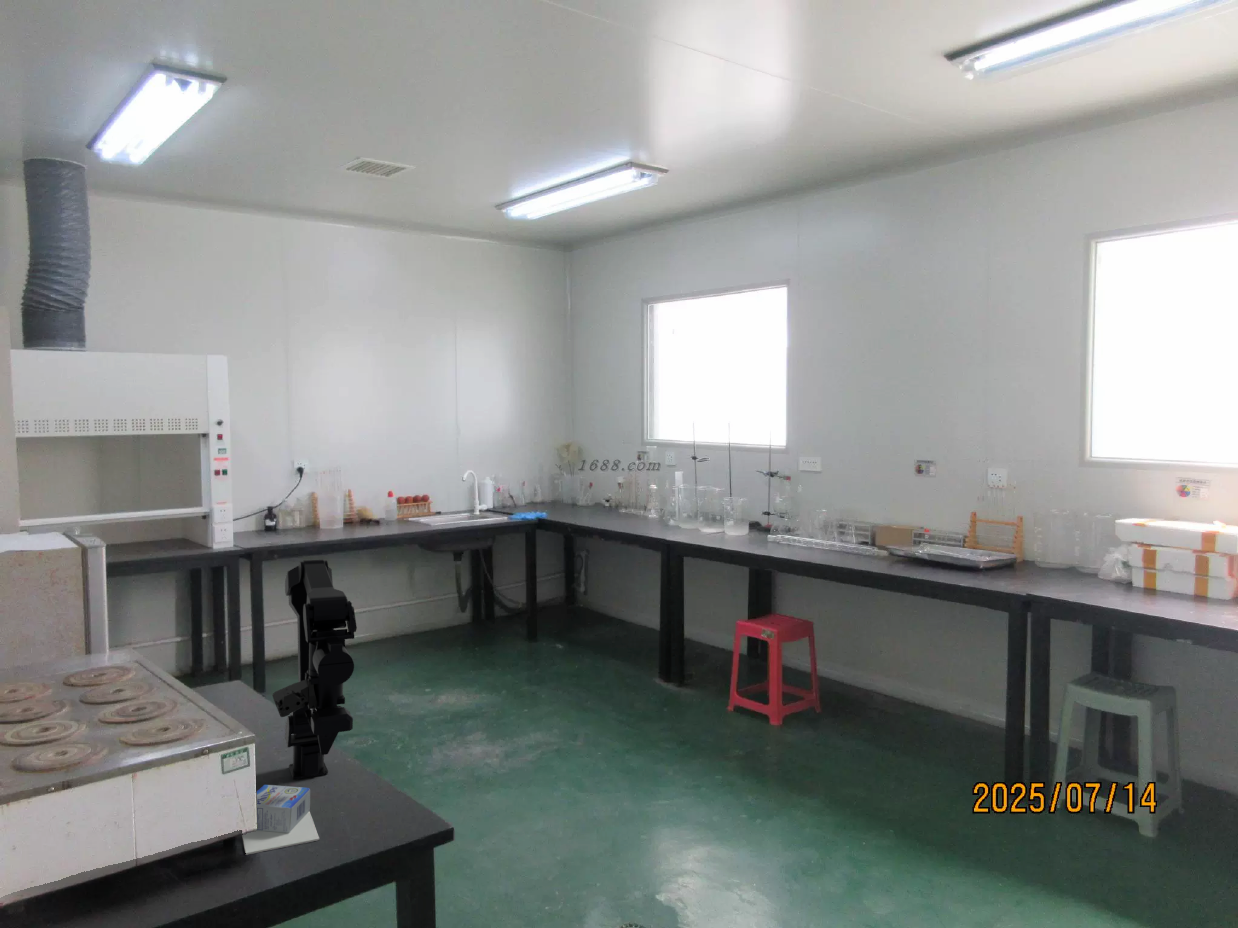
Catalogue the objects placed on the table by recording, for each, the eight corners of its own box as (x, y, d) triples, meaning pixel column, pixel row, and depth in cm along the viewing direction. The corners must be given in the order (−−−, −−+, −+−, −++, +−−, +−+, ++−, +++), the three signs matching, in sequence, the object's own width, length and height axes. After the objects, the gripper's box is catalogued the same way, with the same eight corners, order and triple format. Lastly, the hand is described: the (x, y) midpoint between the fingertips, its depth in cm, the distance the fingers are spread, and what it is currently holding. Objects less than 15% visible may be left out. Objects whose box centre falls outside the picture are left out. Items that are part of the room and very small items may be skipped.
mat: (239, 821, 143) (239, 819, 143) (308, 808, 149) (308, 806, 149) (245, 854, 133) (245, 852, 133) (319, 839, 138) (319, 838, 138)
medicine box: (290, 808, 139) (240, 804, 140) (290, 833, 139) (239, 829, 140) (311, 787, 147) (263, 783, 147) (310, 811, 147) (262, 807, 148)
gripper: (271, 656, 149) (269, 740, 150) (282, 689, 133) (280, 784, 134) (335, 650, 155) (334, 731, 156) (354, 681, 138) (352, 772, 139)
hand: (324, 753), depth 146 cm, fingers closed
